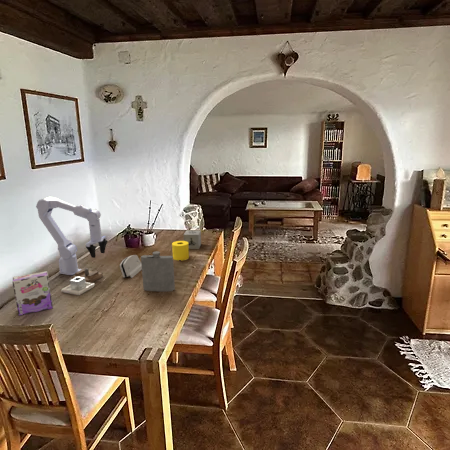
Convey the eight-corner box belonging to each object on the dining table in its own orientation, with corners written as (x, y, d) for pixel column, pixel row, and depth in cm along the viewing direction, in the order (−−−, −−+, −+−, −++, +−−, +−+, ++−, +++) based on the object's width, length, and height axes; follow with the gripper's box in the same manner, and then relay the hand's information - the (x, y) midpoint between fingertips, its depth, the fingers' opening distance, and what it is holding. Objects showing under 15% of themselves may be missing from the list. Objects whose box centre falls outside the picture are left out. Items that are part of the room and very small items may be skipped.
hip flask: (175, 288, 178) (173, 251, 172) (173, 292, 174) (171, 253, 168) (144, 287, 179) (141, 250, 174) (142, 291, 175) (139, 253, 170)
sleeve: (71, 289, 177) (69, 280, 176) (78, 285, 181) (77, 276, 180) (79, 290, 175) (77, 281, 174) (86, 286, 180) (85, 277, 178)
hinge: (131, 278, 191) (124, 261, 189) (124, 280, 192) (117, 263, 190) (144, 266, 206) (138, 251, 204) (138, 268, 208) (131, 253, 206)
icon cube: (186, 244, 245) (186, 230, 243) (201, 244, 245) (200, 230, 242) (184, 248, 236) (183, 234, 233) (199, 249, 235) (198, 234, 232)
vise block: (70, 280, 189) (69, 270, 188) (83, 273, 198) (82, 264, 197) (89, 283, 184) (88, 274, 183) (102, 276, 193) (101, 267, 192)
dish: (61, 292, 175) (61, 289, 175) (78, 283, 185) (77, 280, 185) (79, 295, 172) (78, 292, 171) (94, 286, 182) (94, 283, 181)
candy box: (18, 316, 153) (11, 281, 149) (18, 310, 158) (12, 276, 154) (53, 308, 159) (47, 274, 155) (52, 303, 164) (47, 270, 160)
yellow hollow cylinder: (187, 260, 215) (187, 245, 212) (171, 260, 215) (170, 245, 213) (189, 254, 225) (189, 240, 222) (174, 254, 225) (173, 240, 222)
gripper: (92, 236, 186) (94, 260, 189) (110, 229, 199) (112, 251, 202) (81, 235, 188) (84, 258, 192) (99, 227, 201) (102, 250, 205)
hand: (98, 255), depth 197 cm, fingers open, 7 cm apart
